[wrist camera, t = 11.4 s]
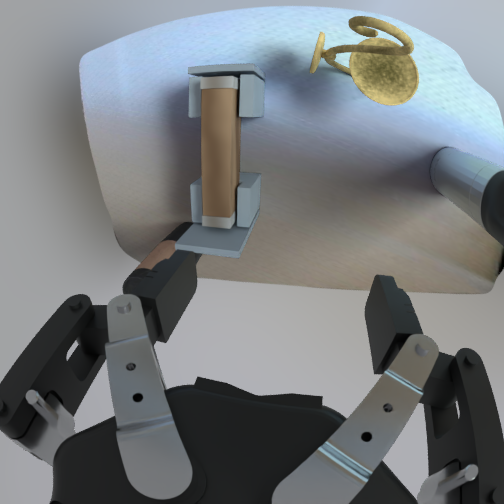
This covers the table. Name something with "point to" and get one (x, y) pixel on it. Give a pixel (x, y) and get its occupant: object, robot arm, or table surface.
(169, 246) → the travel mug
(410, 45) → the wall sconce
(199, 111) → the pair of grey brackets
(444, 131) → the table surface
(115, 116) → the table surface
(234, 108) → the brown wooden bar
